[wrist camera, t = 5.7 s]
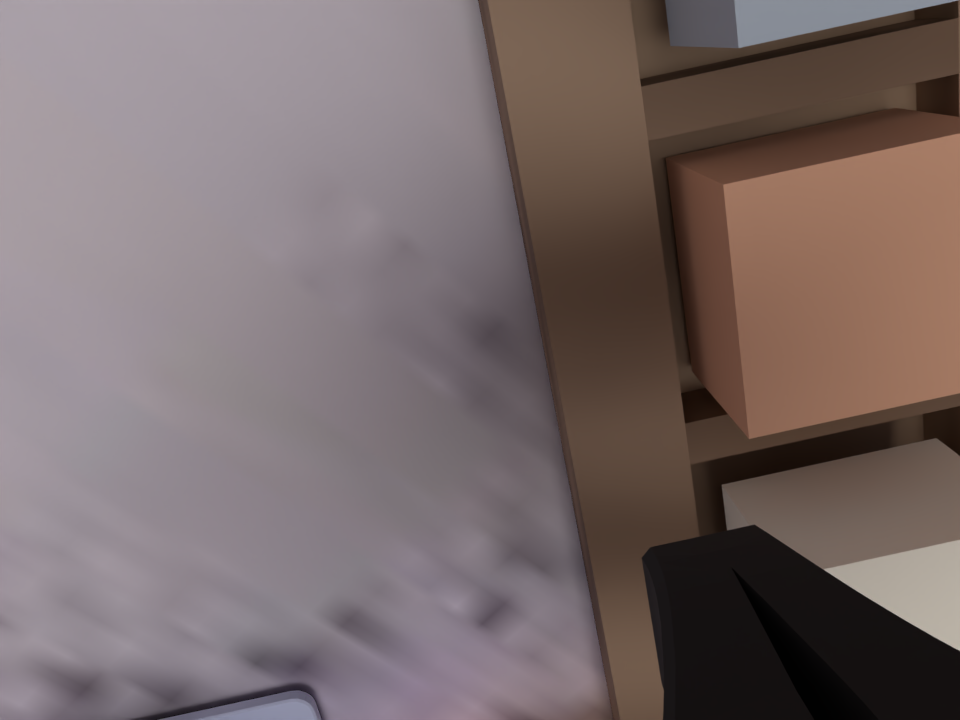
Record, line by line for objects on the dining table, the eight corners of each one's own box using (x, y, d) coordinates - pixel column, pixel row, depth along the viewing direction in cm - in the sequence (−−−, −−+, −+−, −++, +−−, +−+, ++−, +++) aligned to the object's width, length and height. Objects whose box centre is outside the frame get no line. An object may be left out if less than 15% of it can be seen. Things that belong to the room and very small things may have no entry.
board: (1007, 650, 24) (1058, 702, 22) (616, 736, 24) (634, 794, 22) (1030, -570, 15) (1120, -658, 13) (397, -433, 15) (394, -501, 13)
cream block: (939, 616, 21) (1038, 724, 17) (742, 658, 21) (804, 775, 17) (936, 437, 19) (1045, 520, 16) (721, 484, 19) (786, 577, 16)
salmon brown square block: (902, 325, 19) (1000, 383, 16) (692, 372, 20) (748, 439, 16) (895, 108, 18) (1004, 123, 15) (665, 157, 18) (723, 185, 15)
